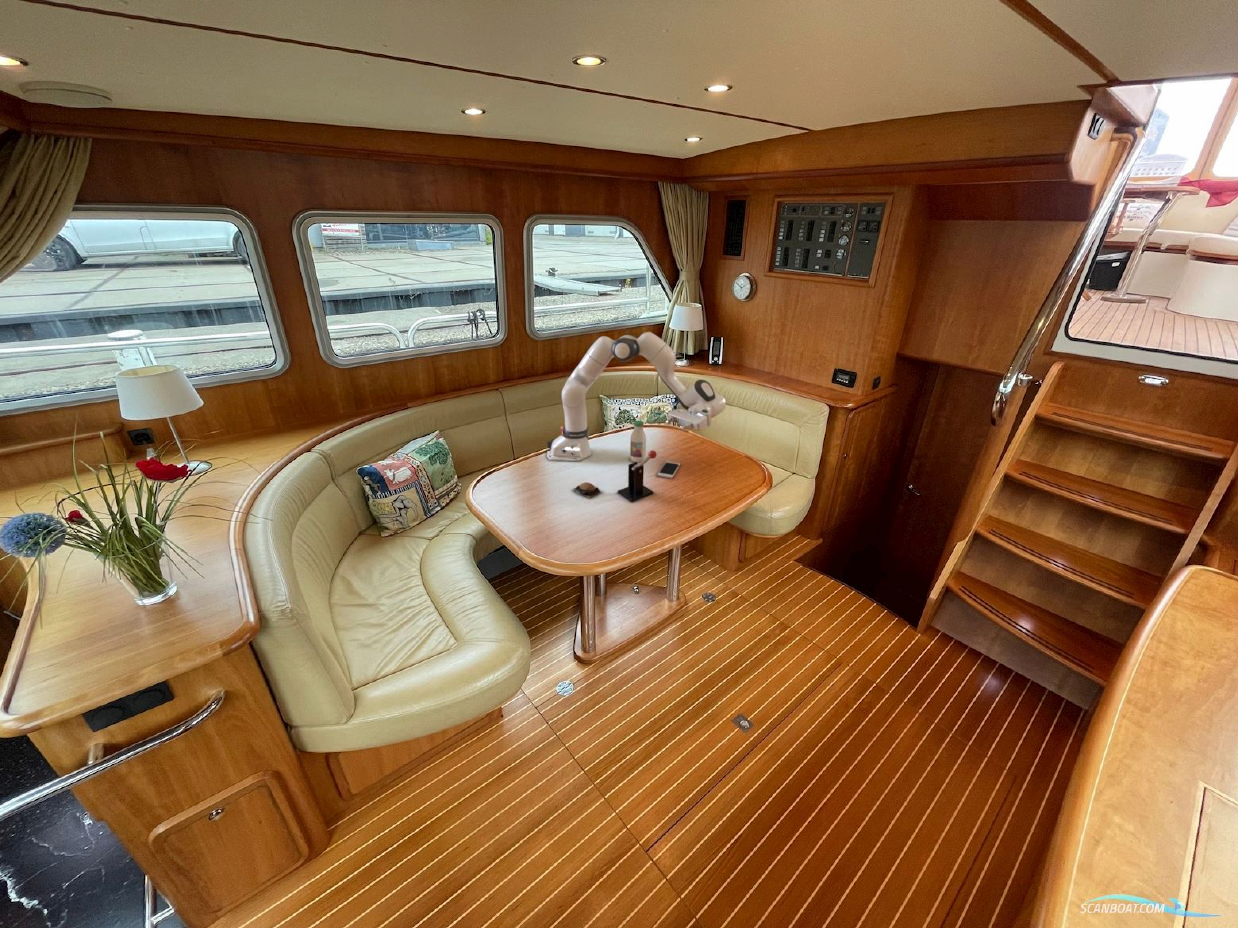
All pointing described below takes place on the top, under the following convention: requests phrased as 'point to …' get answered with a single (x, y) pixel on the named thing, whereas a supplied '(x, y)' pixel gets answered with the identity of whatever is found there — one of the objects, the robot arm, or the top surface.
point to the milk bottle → (638, 443)
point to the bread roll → (587, 490)
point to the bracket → (635, 484)
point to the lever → (646, 459)
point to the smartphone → (668, 469)
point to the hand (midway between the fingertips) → (673, 425)
